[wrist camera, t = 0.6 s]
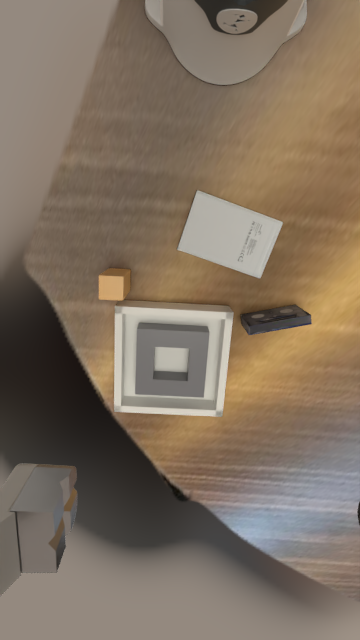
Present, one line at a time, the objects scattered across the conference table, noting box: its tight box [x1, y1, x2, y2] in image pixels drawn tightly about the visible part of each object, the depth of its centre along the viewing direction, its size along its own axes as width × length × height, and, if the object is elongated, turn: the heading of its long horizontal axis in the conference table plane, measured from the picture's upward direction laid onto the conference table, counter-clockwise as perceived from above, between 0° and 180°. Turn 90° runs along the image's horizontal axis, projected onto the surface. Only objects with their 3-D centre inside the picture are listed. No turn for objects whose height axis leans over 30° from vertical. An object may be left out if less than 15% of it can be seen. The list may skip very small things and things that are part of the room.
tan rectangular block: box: [99, 268, 131, 301], centre depth 45 cm, size 3×3×7 cm
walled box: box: [114, 300, 233, 417], centre depth 49 cm, size 16×16×4 cm
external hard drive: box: [177, 190, 283, 278], centre depth 46 cm, size 2×8×12 cm
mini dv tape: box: [241, 305, 311, 335], centre depth 47 cm, size 8×2×6 cm, turn 101°
